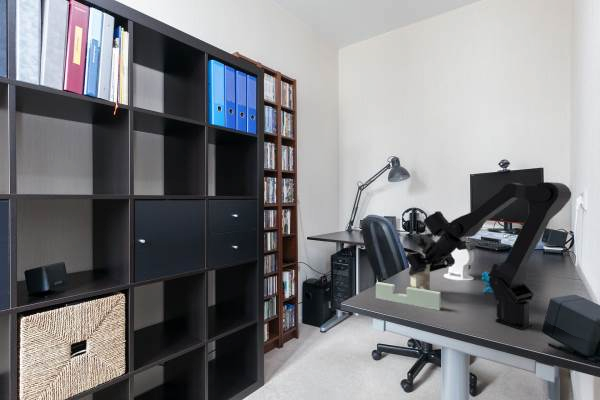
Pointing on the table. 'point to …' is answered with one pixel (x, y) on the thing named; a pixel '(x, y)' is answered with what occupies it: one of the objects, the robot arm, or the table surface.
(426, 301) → the sage slotted plate
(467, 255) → the white bracket stand
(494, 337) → the table surface
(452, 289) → the table surface
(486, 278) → the blue lumpy piece
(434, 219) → the robot arm
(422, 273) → the ash notched plate
